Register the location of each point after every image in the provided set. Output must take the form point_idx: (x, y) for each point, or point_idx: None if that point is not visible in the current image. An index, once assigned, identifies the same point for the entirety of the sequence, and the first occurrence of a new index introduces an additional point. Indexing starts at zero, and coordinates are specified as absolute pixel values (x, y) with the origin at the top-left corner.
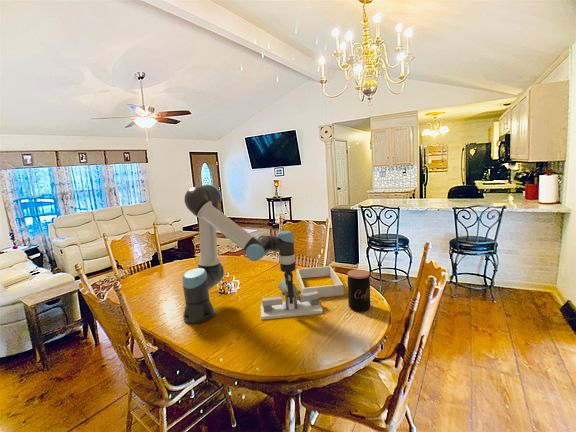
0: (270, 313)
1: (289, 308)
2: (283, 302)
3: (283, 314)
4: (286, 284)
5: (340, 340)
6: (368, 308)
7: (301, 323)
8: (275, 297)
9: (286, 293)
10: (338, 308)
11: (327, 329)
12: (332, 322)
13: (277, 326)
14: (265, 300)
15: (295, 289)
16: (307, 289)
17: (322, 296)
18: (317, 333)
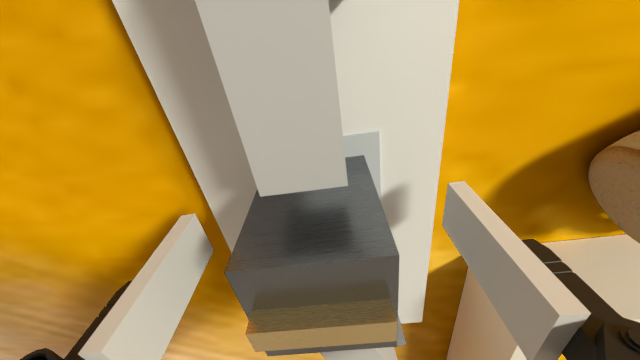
0: (171, 3)
1: (178, 226)
2: (427, 130)
3: (182, 148)
4: (600, 344)
5: (66, 348)
6: None
7: (144, 243)
8: (317, 86)
9: (330, 279)
10: (319, 356)
11: None
12: (193, 338)
13: (34, 100)
14: None
15: (629, 234)
16: (508, 335)
17: (457, 326)
18: (76, 298)
